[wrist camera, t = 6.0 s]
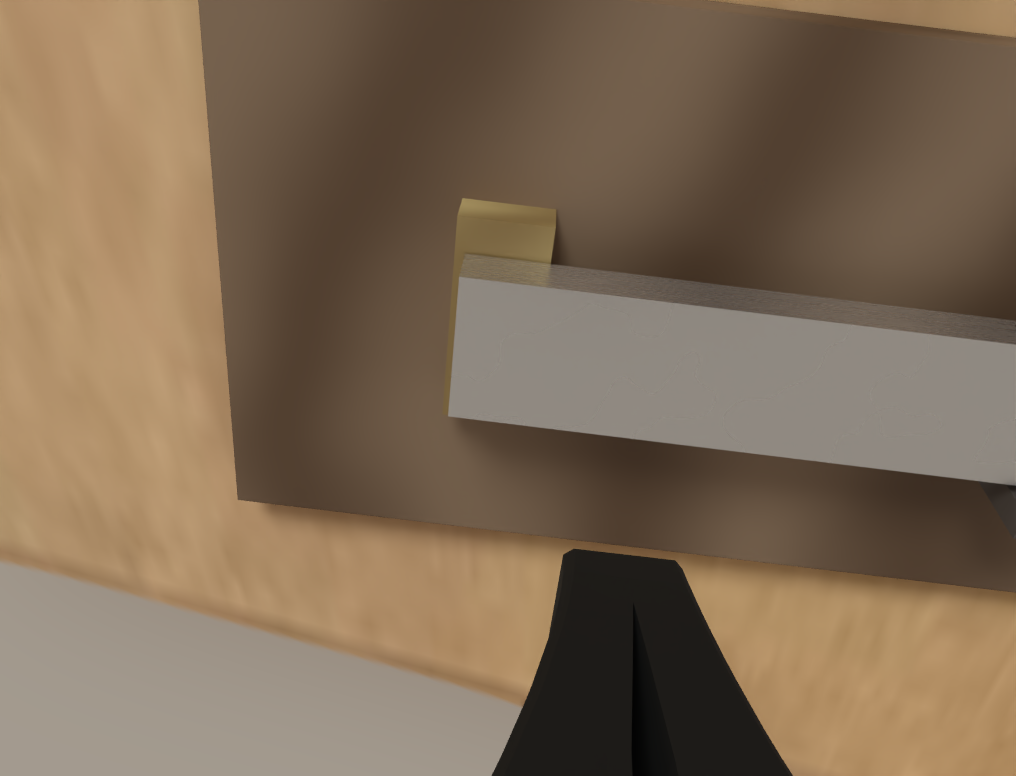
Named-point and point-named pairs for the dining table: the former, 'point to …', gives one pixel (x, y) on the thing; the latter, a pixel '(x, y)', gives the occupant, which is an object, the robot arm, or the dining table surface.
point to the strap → (735, 369)
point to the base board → (594, 248)
